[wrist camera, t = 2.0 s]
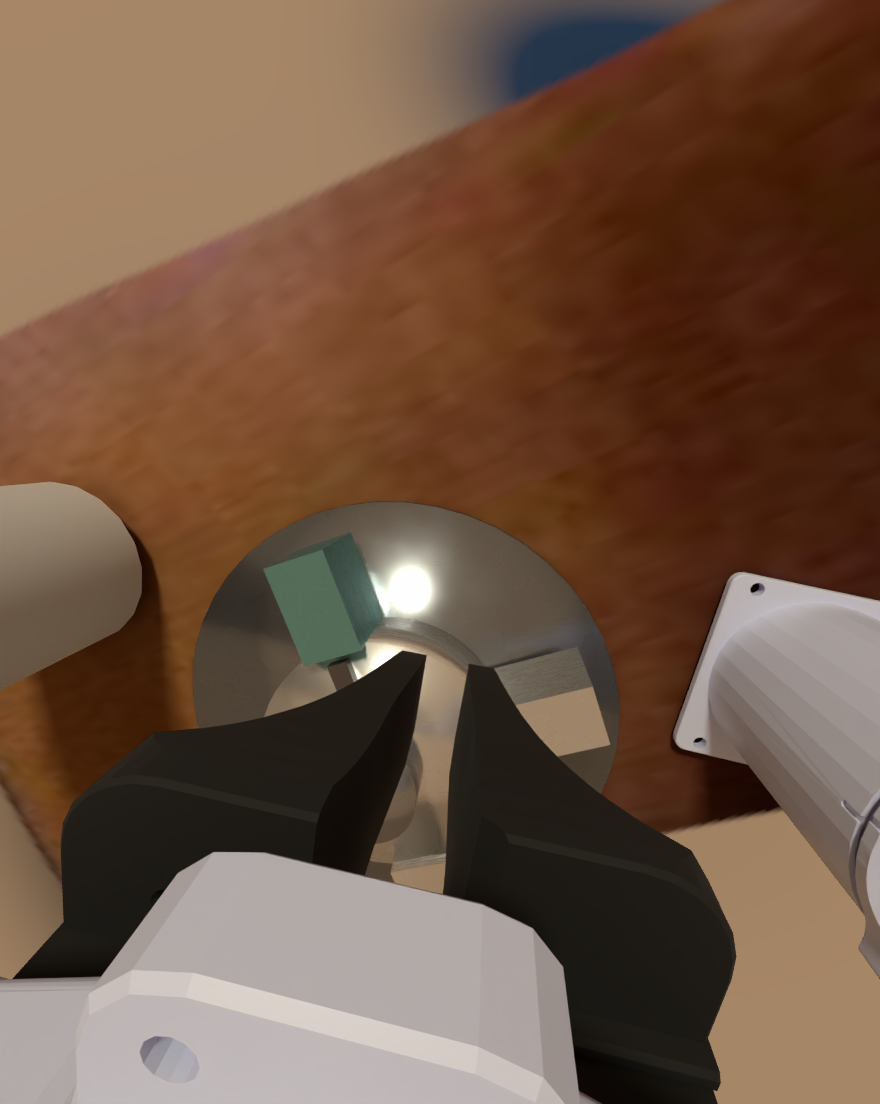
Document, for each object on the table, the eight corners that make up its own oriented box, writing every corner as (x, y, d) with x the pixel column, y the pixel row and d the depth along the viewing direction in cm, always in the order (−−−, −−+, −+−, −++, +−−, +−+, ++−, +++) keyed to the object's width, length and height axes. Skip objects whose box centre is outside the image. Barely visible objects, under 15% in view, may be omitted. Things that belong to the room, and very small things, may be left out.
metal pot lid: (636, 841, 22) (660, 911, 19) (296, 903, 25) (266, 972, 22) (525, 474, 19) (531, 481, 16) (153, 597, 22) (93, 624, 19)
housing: (678, 557, 19) (748, 602, 14) (555, 933, 24) (571, 1075, 19) (211, 458, 21) (110, 464, 15) (182, 833, 26) (98, 939, 20)
